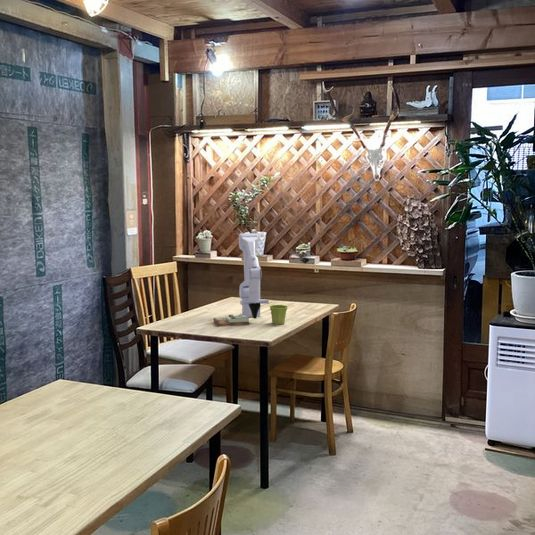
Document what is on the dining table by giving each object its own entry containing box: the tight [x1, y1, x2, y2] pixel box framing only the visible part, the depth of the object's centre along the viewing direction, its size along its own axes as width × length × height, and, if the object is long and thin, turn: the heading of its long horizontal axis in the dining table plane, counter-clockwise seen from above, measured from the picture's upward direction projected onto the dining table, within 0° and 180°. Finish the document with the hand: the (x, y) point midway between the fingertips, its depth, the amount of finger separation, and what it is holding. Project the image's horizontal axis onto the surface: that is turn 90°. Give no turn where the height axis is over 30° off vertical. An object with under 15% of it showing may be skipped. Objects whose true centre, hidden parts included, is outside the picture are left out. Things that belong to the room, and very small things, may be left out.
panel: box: [224, 315, 250, 323], centre depth 308 cm, size 10×8×2 cm
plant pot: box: [269, 304, 289, 325], centre depth 308 cm, size 9×9×9 cm
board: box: [213, 314, 250, 327], centre depth 307 cm, size 16×9×4 cm, turn 107°
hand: (254, 318), depth 311 cm, fingers closed
